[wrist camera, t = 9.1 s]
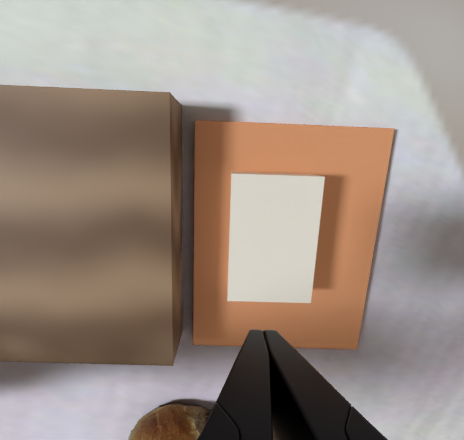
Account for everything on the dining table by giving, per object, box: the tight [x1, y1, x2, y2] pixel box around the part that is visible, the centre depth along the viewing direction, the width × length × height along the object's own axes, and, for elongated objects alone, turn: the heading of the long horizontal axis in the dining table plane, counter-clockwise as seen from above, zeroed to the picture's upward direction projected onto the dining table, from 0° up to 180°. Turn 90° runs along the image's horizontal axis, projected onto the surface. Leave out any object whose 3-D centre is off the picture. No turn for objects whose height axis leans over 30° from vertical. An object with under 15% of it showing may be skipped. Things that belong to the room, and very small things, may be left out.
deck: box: [0, 85, 182, 366], centre depth 19 cm, size 18×14×4 cm
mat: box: [193, 120, 394, 349], centre depth 21 cm, size 18×14×1 cm
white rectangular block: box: [227, 171, 325, 303], centre depth 20 cm, size 9×6×2 cm, turn 178°
